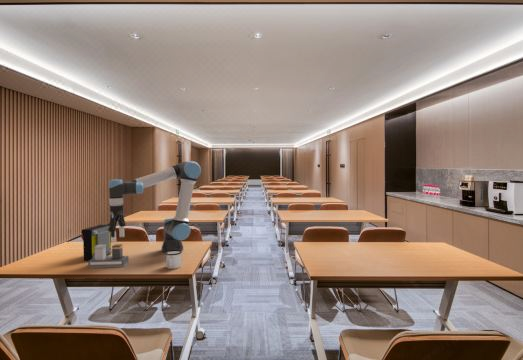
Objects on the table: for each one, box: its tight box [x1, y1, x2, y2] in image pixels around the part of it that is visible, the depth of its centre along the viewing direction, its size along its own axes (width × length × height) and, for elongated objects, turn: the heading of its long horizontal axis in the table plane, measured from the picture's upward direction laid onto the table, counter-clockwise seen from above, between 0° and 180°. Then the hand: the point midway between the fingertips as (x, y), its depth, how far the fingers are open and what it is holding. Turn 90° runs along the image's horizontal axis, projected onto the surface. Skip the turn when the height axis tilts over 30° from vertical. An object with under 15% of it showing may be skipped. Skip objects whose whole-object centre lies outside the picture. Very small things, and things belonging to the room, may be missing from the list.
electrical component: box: [80, 224, 112, 262], centre depth 202 cm, size 18×10×20 cm, turn 168°
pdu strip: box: [87, 255, 130, 269], centre depth 186 cm, size 20×9×4 cm, turn 96°
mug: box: [164, 250, 183, 270], centre depth 181 cm, size 12×10×9 cm
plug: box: [111, 243, 124, 260], centre depth 186 cm, size 5×5×11 cm
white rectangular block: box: [95, 245, 106, 260], centre depth 186 cm, size 5×5×11 cm
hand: (118, 239), depth 186 cm, fingers open, 13 cm apart
